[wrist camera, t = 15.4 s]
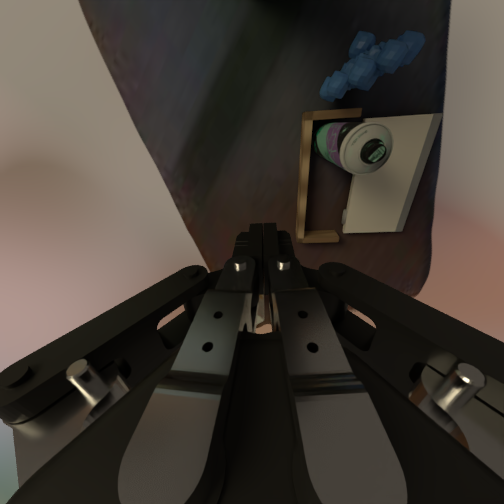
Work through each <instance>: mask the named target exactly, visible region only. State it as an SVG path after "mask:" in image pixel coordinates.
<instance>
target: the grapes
mask: <svg viewBox="0 0 504 504" xmlns="http://www.w3.org/2000/svg"><path fill="white" fill-rule="evenodd" d="M375 42H376V37H375V36H374V34H372V33H370V32H365V31H359V32H358V34H357V35H356V37H355V39H354V40H353V42H352V44H351V46H350V48H349V58H350V59H351V60H350V59H349V61H348V62H347V64H346V63H344V65H343V67H342V69H341V71H335V72H334V74H333V75H332V77H328V76H327V78H326V79H325V81H324V83H323V85H322V87H321V89H320V97H321V98H322V99H324V100H326V101H331V102H333V101H334V100H335V98H338V99H341V98H342V97H343V96H344V94H345V93H346V91H347V90H351V88H358V89H360V90H365V91H369V89H370V88H371V87H372V85H373V84H374V83H375V81H376V79H377V78H378V76H383V74H384V73H390V74H393V73H394V72H395V71H396V69H397V68H398V67H399V66H400V67H403V66H404V65H409V64H410V63H411V62H412V61H413V59H414V58H415V57H416V56H417V54H418V53H419V52H420V50H421V49H422V47H423V45H424V43H425V36H424V35H423V34H422V33H420V32H416V31H409V30H406V31H405V33H404V34H403V35H400V36H399V37H398V39H397V40H394V39H389V40H388V42H383V41H381V43H379V44H378V45H375Z"/></svg>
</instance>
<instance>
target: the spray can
mask: <svg viewBox="0 0 504 504" xmlns="http://www.w3.org/2000/svg"><path fill="white" fill-rule="evenodd" d="M393 143H394V140H393V135H392V132H391V131H390V129H389V128H388V127H386V126H385V125H383V124H380V123H377V122H342V123H327V124H324V125H322V126H321V127H319V128H318V129H317V130H316V132H315V134H314V136H313V140H312V146H313V149H314V151H315V152H316V153H317V154H318V155H319V156H321V157H323V158H325V159H327V160H328V161H330V162H332V163H334V164H335V165H337V166H339V167H341V168H342V169H344V170H346V171H348V172H350V173H352V174H356V175H367V174H371V173H373V172H375V171H377V170H378V169H380V168H381V167H382V166H383V165H384V164H385V163H386V162H387V160H388V159H389V157H390V155H391V153H392V149H393Z"/></svg>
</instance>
